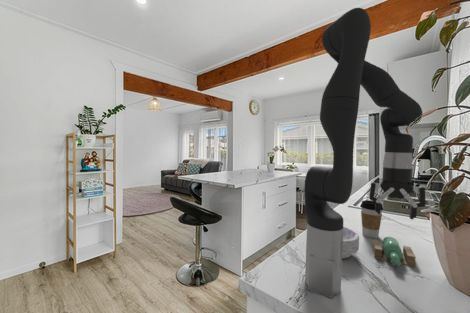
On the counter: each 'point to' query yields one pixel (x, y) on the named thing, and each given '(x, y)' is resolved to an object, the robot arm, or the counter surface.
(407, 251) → the cradle
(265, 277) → the counter surface
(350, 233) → the paper bowls
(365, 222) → the coffee cup
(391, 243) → the bottle
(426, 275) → the counter surface
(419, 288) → the counter surface
